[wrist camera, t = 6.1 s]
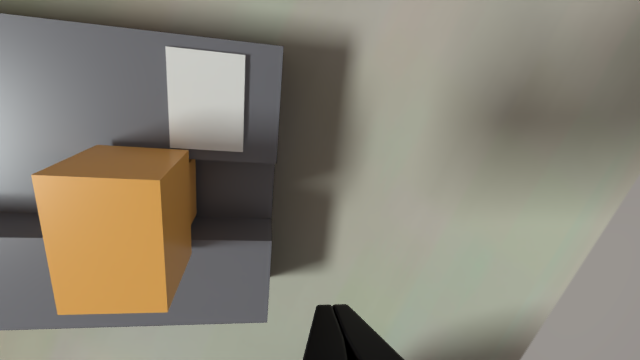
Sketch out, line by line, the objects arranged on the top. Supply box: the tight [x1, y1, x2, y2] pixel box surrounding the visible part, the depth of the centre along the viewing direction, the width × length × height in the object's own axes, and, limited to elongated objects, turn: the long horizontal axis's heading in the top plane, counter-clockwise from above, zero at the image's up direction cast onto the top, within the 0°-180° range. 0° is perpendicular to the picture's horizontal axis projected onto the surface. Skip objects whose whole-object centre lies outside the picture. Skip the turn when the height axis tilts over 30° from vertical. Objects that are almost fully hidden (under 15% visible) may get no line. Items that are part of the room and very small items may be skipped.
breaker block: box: [0, 13, 283, 330], centre depth 16 cm, size 19×14×4 cm
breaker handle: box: [31, 145, 197, 315], centre depth 14 cm, size 4×5×6 cm
